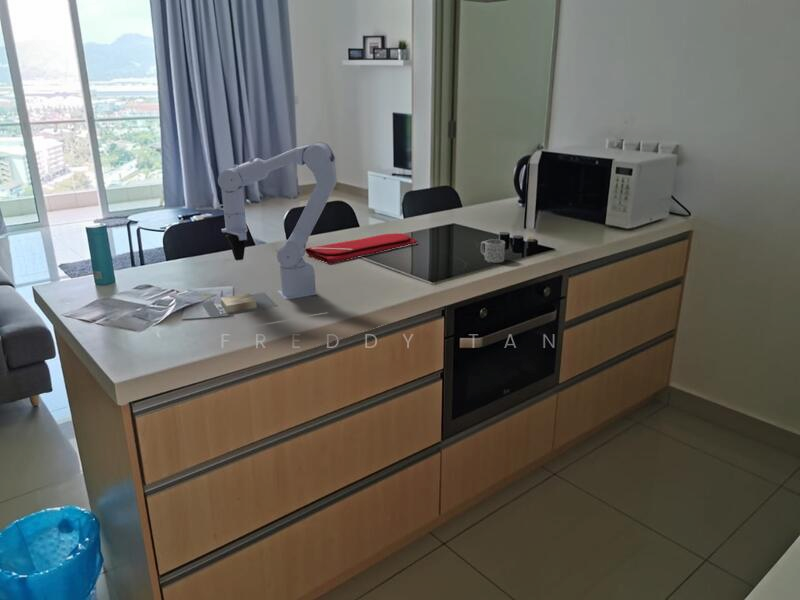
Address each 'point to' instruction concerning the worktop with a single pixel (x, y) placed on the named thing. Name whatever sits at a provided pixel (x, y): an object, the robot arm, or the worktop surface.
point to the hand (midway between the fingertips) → (239, 259)
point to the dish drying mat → (358, 247)
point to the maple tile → (238, 303)
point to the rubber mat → (261, 303)
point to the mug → (493, 250)
